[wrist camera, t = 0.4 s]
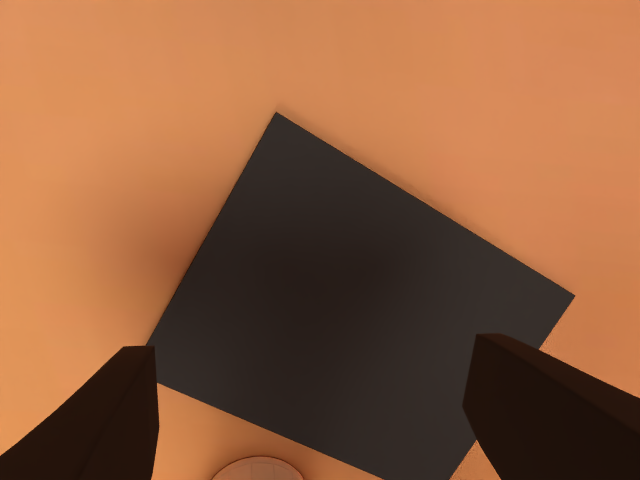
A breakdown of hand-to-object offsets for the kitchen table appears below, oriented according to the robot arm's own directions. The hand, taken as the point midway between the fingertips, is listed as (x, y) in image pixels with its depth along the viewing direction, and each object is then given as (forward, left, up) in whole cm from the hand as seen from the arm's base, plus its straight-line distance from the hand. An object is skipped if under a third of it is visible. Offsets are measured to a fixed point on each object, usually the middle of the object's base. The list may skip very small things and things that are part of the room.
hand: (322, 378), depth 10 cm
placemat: (-1, -5, -11) cm, 12 cm away
